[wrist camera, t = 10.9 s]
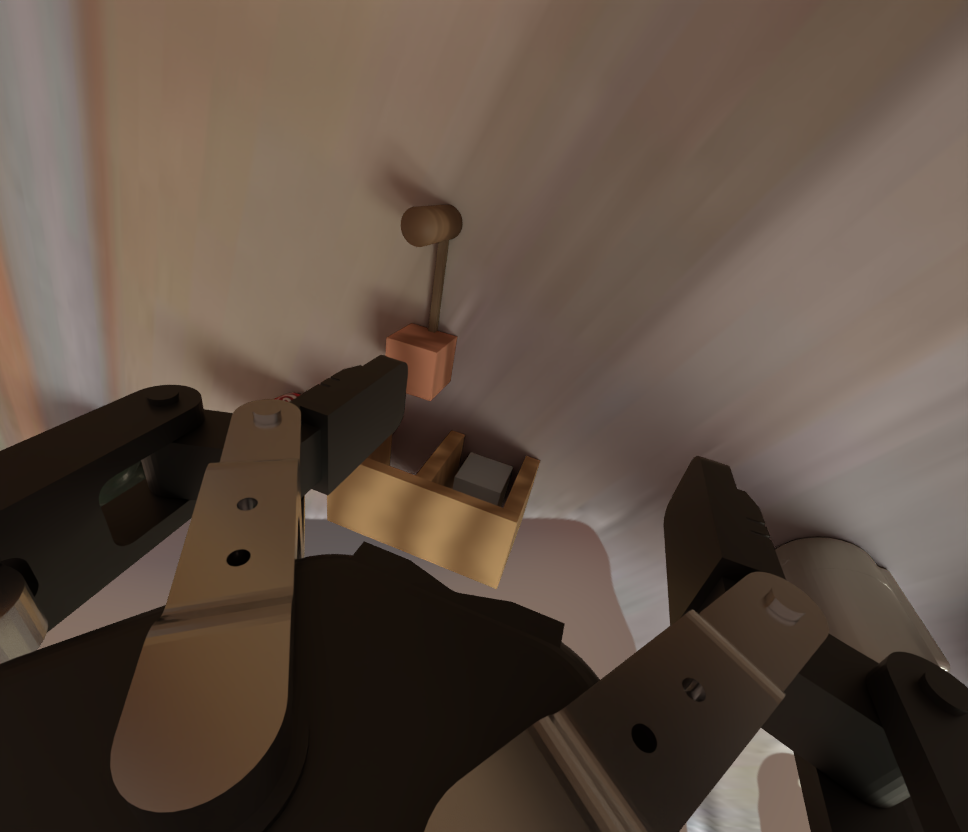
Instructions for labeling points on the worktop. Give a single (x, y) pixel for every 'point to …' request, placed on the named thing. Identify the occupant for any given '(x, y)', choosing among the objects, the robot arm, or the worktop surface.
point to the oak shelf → (433, 511)
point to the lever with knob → (418, 344)
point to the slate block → (483, 479)
